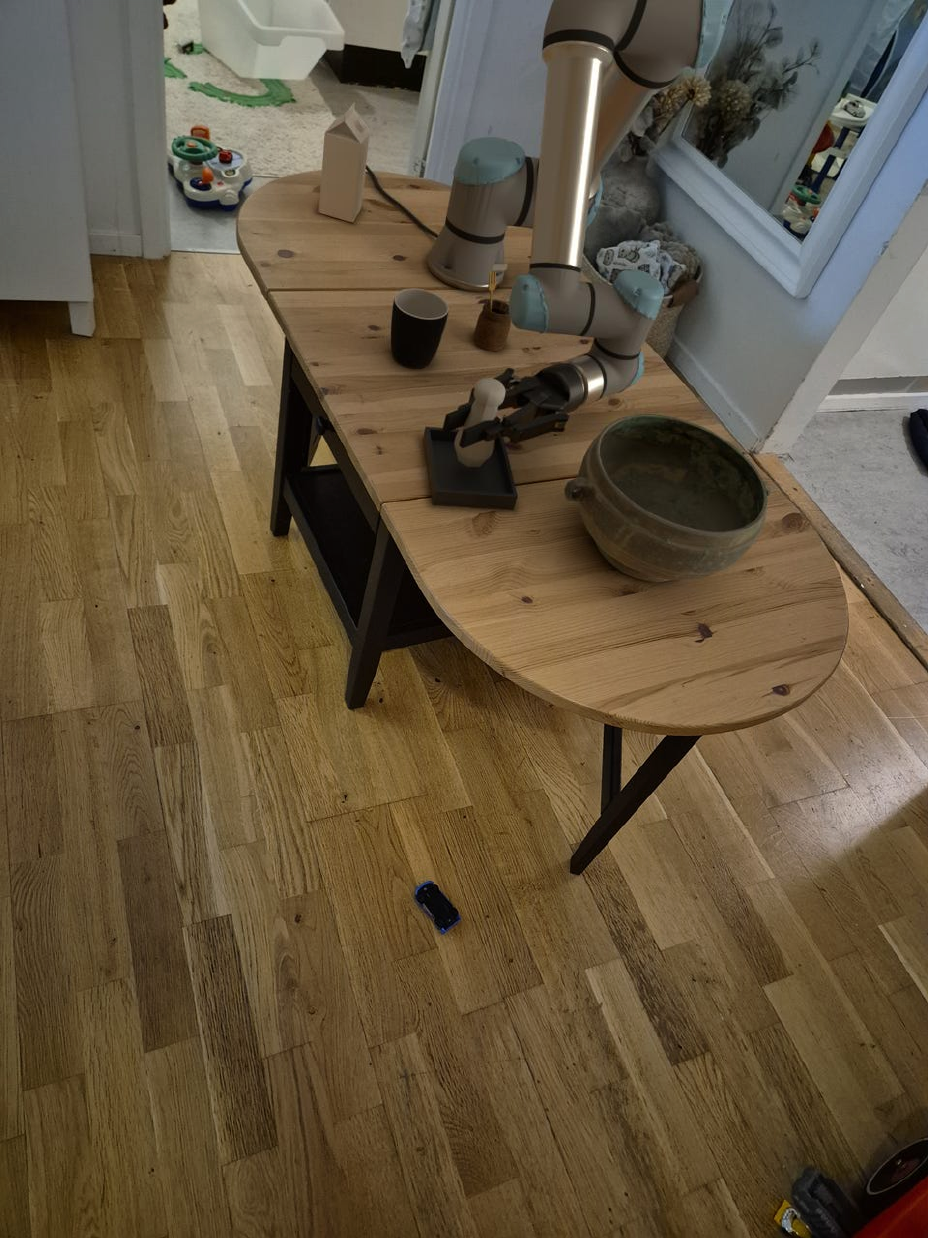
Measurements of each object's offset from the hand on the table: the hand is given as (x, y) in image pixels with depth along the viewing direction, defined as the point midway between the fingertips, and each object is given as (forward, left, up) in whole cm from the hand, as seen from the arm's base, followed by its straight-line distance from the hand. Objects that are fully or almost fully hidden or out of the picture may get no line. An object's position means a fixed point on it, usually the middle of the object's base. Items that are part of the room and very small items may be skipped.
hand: (454, 431), depth 109 cm
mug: (-33, -2, -10) cm, 35 cm away
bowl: (+10, +29, -10) cm, 33 cm away
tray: (-3, +4, -10) cm, 11 cm away
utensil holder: (-39, +13, -10) cm, 42 cm away
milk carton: (-80, -12, -10) cm, 81 cm away
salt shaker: (-3, +4, -7) cm, 9 cm away
